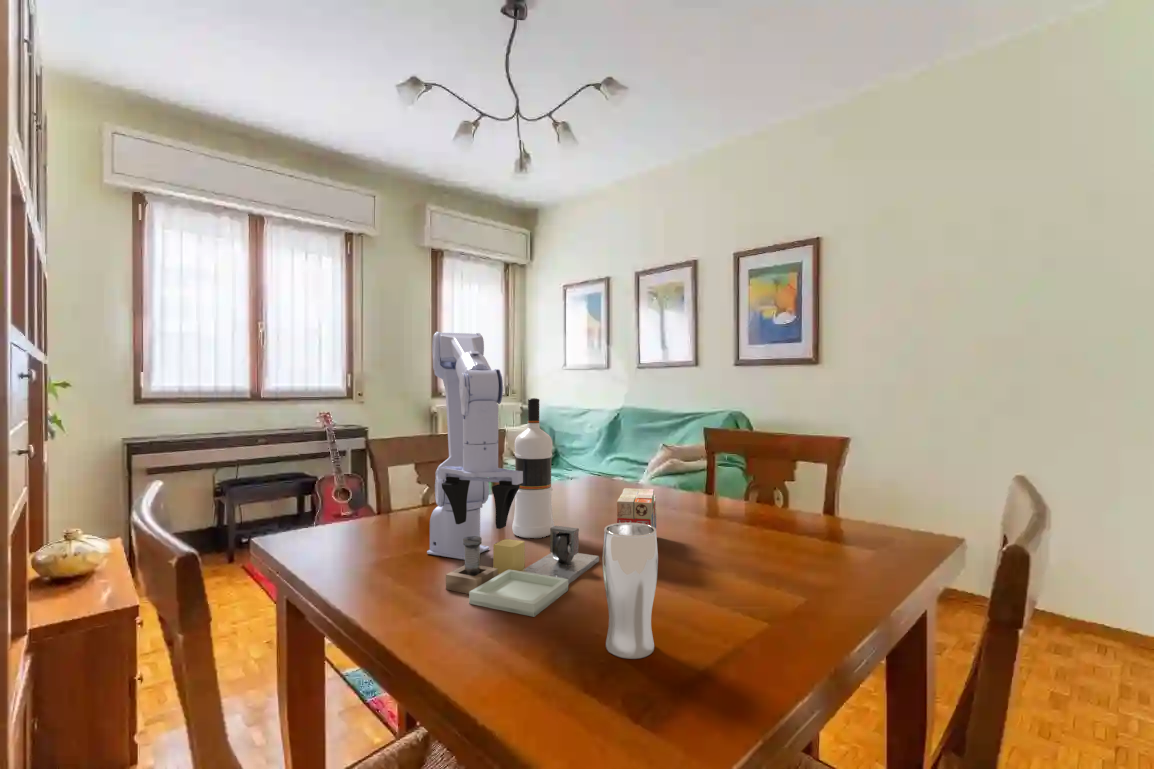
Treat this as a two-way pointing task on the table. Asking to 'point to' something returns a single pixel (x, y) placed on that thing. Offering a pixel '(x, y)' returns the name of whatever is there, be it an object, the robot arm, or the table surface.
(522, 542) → the pale yellow cube
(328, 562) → the table surface
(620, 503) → the stack of blocks
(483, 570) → the socket
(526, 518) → the vodka
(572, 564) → the trolley wheel
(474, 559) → the pin
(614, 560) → the beer glass
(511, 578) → the tray
